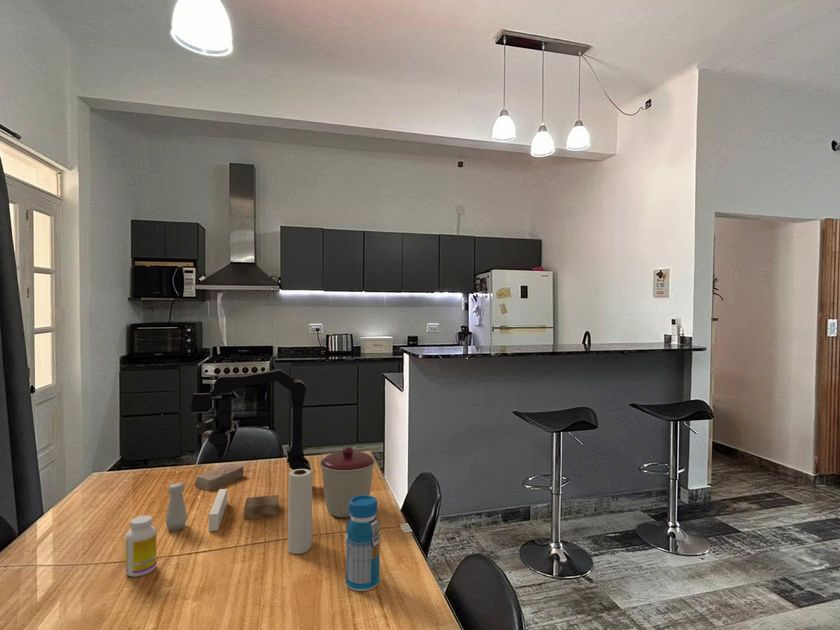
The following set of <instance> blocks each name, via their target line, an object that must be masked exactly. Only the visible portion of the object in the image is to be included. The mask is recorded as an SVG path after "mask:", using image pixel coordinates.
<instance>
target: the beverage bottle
mask: <svg viewBox="0 0 840 630" xmlns="http://www.w3.org/2000/svg"><path fill="white" fill-rule="evenodd" d="M349 513H350V516H351V517H349V519H348V521H347V524H346V527H345V532H346V536H345V540H344V543H345V584H346V586H347V588H348V589H350V590H353V591H355V592H356V591H357V592H367V591H370V590H372V589H375V587H377V585H378V584H379V583H380V561H381V560H380V557H381V553H380V552H381V551H380V550H381V549H380V548H381V539H382V538H381V534H380V530H381V525H380V522H379V520H378V518H377V513H378V499H377V498H376V497H374V496H372V495H370V496H369V495H361V496H356V497H353V498H352V499H351V500H350V503H349Z"/></svg>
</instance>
